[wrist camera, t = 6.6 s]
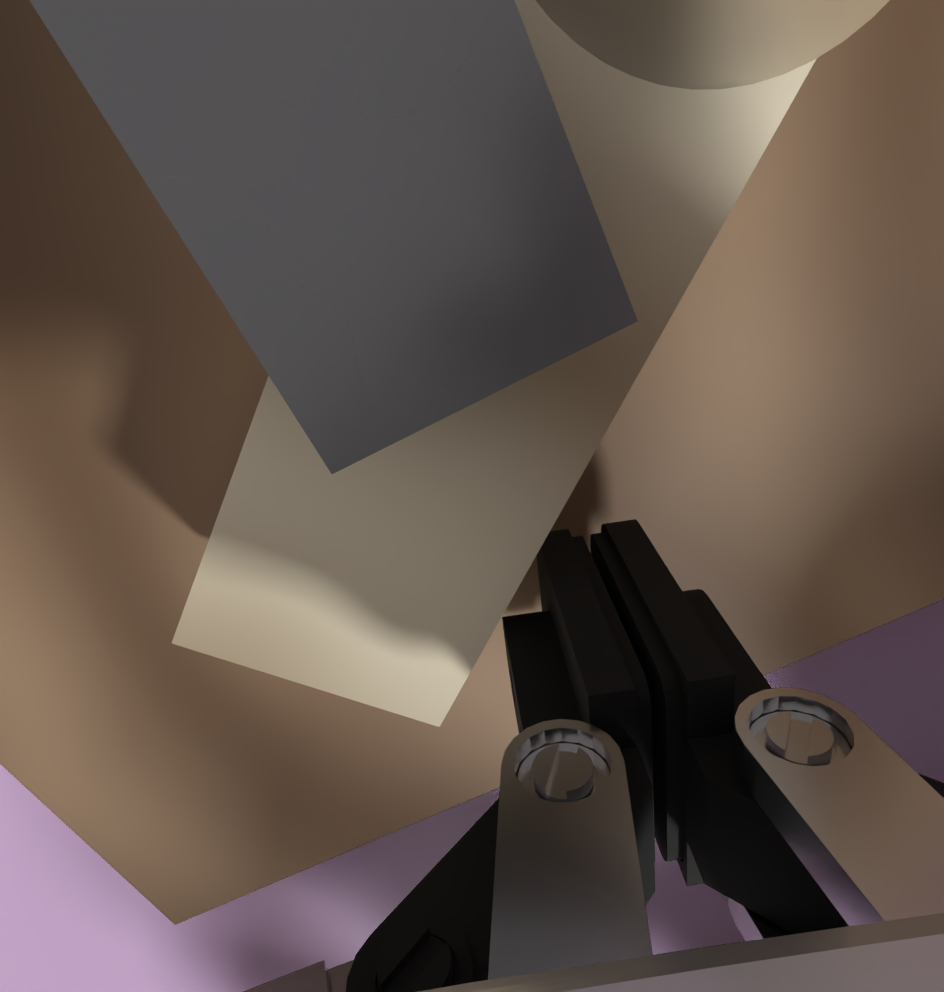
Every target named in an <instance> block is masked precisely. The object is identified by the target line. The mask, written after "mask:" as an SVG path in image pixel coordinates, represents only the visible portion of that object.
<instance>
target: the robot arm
mask: <svg viewBox="0 0 944 992" xmlns="http://www.w3.org/2000/svg"><path fill="white" fill-rule="evenodd" d="M590 548H591V553H590V551H589V549H588V547H587V544H586V542H585V540H584V538H583V536H575V537H572V536H571V534H570V531H569V530H568V529H563V530H556V531H550V532H549V534H548V536H547V537H546V539H545V541H544V543H543V545H542V546H541V548H540V550H539V552H538V553H537V555H536V557H537V567H538V577H539V587H540V597H541V606H542V611H540V612H533V613H526V614H519V615H512V616H505V617H502V622H503V630H504V638H505V646H506V654H507V661H508V668H509V675H510V682H511V689H512V695H513V702H514V708H515V714H516V719H517V725H518V731H519V734H518V735H517V736H516V737H514V738H513V740H512V741H511V742H510V744H509V745H508V747H507V748H506V749H505V752H504V756H503V760H502V763H501V776H500V792H499V799H498V800H497V801H496V802H495V803H494V804H493V805H492V806H491V807H490V808H489V809H488V810H487V811H486V813H485V814H484V815H483V816H482V817H481V818H480V819H479V820H478V821H477V822H476V823H475V824H474V825H473V826H472V827H471V828H470V830H469V831H468V832H467V833H466V834H465V835H464V836H463V837H462V838H461V839H460V840H459V841H458V842H457V843H456V844H455V846H454V847H453V848H452V849H451V850H450V851H449V852H448V853H447V854H446V855H445V856H444V857H443V858H442V859H441V860H440V862H439V863H438V864H437V865H436V866H435V867H434V868H433V869H432V870H431V871H430V872H429V873H428V874H427V875H426V876H425V877H424V879H423V880H422V881H421V882H420V883H419V884H418V885H417V886H416V887H415V888H414V889H413V890H412V891H411V892H410V893H409V895H408V896H407V897H406V898H405V899H404V900H403V901H402V902H401V903H400V904H399V905H398V906H397V907H396V908H395V909H394V910H393V912H392V913H391V914H390V915H389V916H388V917H387V918H386V919H385V920H384V921H383V922H382V923H381V924H380V925H379V926H378V928H377V929H376V930H375V931H374V932H373V933H372V934H371V935H370V936H369V938H368V939H367V940H366V942H365V943H364V945H363V946H362V947H361V949H360V950H359V951H358V953H357V954H356V956H355V959H354V960H352V961H350V962H347V963H344V964H342V965H339V966H337V967H334V968H332V969H329V970H327V968H326V965H325V962H324V961H321V962H318V963H316V964H313V965H311V966H308V967H305V968H303V969H300V970H298V971H295V972H293V973H290V974H287V975H285V976H282V977H280V978H277V979H274V980H272V981H269V982H267V983H264V984H262V985H259V986H256V987H254V988H251V989H249V990H246V991H244V992H944V783H942V782H939V781H936V780H934V779H931V778H929V777H926V776H923V775H921V774H918V773H916V772H915V771H914V770H913V769H912V768H911V767H910V766H909V765H908V764H907V763H906V762H905V761H904V760H903V759H902V758H901V757H900V756H898V755H897V754H896V753H895V752H894V751H893V750H892V749H891V748H890V747H889V746H888V745H887V744H886V743H885V742H884V741H883V740H882V739H880V738H879V737H878V736H877V735H876V734H875V733H874V732H873V731H872V730H871V729H870V728H869V727H868V726H867V725H866V724H865V723H864V722H863V721H861V720H860V719H859V718H858V717H857V716H856V715H855V714H854V713H853V712H851V711H850V710H849V709H847V708H846V707H845V706H843V705H842V704H840V703H839V702H837V701H835V700H833V699H831V698H829V697H826V696H824V695H822V694H819V693H816V692H812V691H808V690H804V689H798V688H783V687H780V688H773V689H772V688H771V687H770V685H769V684H768V682H767V681H766V679H765V678H764V676H763V675H762V673H761V672H760V671H759V669H758V668H757V666H756V665H755V663H754V662H753V660H752V659H751V658H750V656H749V655H748V653H747V652H746V650H745V649H744V647H743V646H742V644H741V643H740V642H739V640H738V639H737V637H736V636H735V634H734V633H733V631H732V630H731V628H730V627H729V626H728V624H727V623H726V621H725V620H724V618H723V617H722V615H721V614H720V613H719V611H718V610H717V608H716V607H715V605H714V604H713V602H712V601H711V599H710V598H709V597H708V595H707V594H706V593H705V592H704V591H703V590H701V589H694V590H687V591H682V590H681V588H680V587H679V585H678V584H677V582H676V580H675V579H674V577H673V576H672V574H671V573H670V571H669V569H668V568H667V566H666V565H665V563H664V562H663V560H662V558H661V557H660V555H659V554H658V552H657V550H656V549H655V547H654V546H653V544H652V543H651V541H650V539H649V538H648V536H647V535H646V533H645V532H644V530H643V528H642V527H641V525H640V524H639V522H638V521H637V520H636V519H633V520H626V521H619V522H612V523H605V524H602V526H601V533H596V534H591V536H590ZM654 835H655V838H656V841H657V844H658V846H659V849H660V852H661V855H662V857H663V859H664V860H665V861H672V860H677V861H678V863H679V866H680V869H681V871H682V874H683V877H684V879H685V882H686V885H687V886H690V885H697V884H706V885H708V886H709V887H711V888H713V889H715V890H716V891H718V892H720V893H722V894H723V895H725V896H727V897H728V908H729V910H730V913H731V915H732V918H733V920H734V923H735V925H736V926H737V928H738V930H739V931H740V933H741V935H742V937H743V938H744V940H745V941H744V942H738V943H731V944H724V945H717V946H710V947H703V948H696V949H690V950H683V951H677V952H670V953H663V954H657V955H653V954H652V947H651V940H650V933H649V927H648V920H647V913H646V906H645V905H646V904H647V902H648V901H649V899H650V898H651V896H652V894H653V893H654V891H655V872H654V862H655V839H654Z"/></svg>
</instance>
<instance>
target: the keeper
mask: <svg viewBox="0 0 944 992" xmlns="http://www.w3.org/2000/svg"><path fill="white" fill-rule="evenodd" d="M29 1H30V2H31V4H32V5H33V7H34V8H35V10H36V12H37V13H38V15H39V16H40V18H41V19H42V21H43V23H44V24H45V26H46V27H47V29H48V30H49V32H50V34H51V35H52V37H53V38H54V40H55V41H56V43H57V45H58V46H59V48H60V49H61V51H62V52H63V54H64V55H65V57H66V59H67V60H68V62H69V63H70V65H71V66H72V68H73V70H74V71H75V73H76V74H77V76H78V77H79V79H80V81H81V82H82V84H83V85H84V87H85V88H86V90H87V92H88V93H89V95H90V96H91V98H92V99H93V101H94V103H95V104H96V106H97V107H98V109H99V110H100V112H101V113H102V115H103V117H104V118H105V120H106V121H107V123H108V124H109V126H110V128H111V129H112V131H113V132H114V134H115V135H116V137H117V139H118V140H119V142H120V143H121V145H122V146H123V148H124V150H125V151H126V153H127V154H128V156H129V157H130V159H131V160H132V162H133V164H134V165H135V167H136V168H137V170H138V171H139V173H140V175H141V176H142V178H143V179H144V181H145V182H146V184H147V186H148V187H149V189H150V190H151V192H152V193H153V195H154V197H155V198H156V200H157V201H158V203H159V204H160V206H161V208H162V209H163V211H164V212H165V214H166V215H167V217H168V218H169V220H170V222H171V223H172V225H173V226H174V228H175V229H176V231H177V233H178V234H179V236H180V237H181V239H182V240H183V242H184V244H185V245H186V247H187V248H188V250H189V251H190V253H191V255H192V256H193V258H194V259H195V261H196V262H197V264H198V266H199V267H200V269H201V270H202V272H203V273H204V275H205V276H206V278H207V280H208V281H209V283H210V284H211V286H212V287H213V289H214V291H215V292H216V294H217V295H218V297H219V298H220V300H221V302H222V303H223V305H224V306H225V308H226V309H227V311H228V313H229V314H230V316H231V317H232V319H233V320H234V322H235V324H236V325H237V327H238V328H239V330H240V331H241V333H242V334H243V336H244V338H245V339H246V341H247V342H248V344H249V345H250V347H251V349H252V350H253V352H254V353H255V355H256V356H257V358H258V360H259V361H260V363H261V364H262V366H263V367H264V369H265V371H266V372H267V374H268V375H269V377H270V378H271V380H272V382H273V383H274V385H275V386H276V388H277V389H278V391H279V392H280V394H281V396H282V397H283V399H284V400H285V402H286V403H287V405H288V407H289V408H290V410H291V411H292V413H293V414H294V416H295V418H296V419H297V421H298V422H299V424H300V425H301V427H302V429H303V430H304V432H305V433H306V435H307V436H308V438H309V439H310V441H311V443H312V444H313V446H314V447H315V449H316V450H317V452H318V454H319V455H320V457H321V458H322V460H323V461H324V463H325V465H326V466H327V468H328V469H329V471H330V472H331V474H334V473H336V472H338V471H340V470H342V469H344V468H346V467H348V466H350V465H352V464H354V463H356V462H358V461H360V460H362V459H364V458H366V457H368V456H370V455H372V454H374V453H376V452H378V451H380V450H382V449H384V448H386V447H388V446H390V445H392V444H394V443H396V442H398V441H400V440H402V439H404V438H406V437H408V436H410V435H412V434H414V433H416V432H418V431H420V430H422V429H424V428H426V427H428V426H430V425H432V424H434V423H436V422H438V421H440V420H442V419H444V418H446V417H448V416H450V415H452V414H454V413H456V412H458V411H460V410H462V409H464V408H466V407H468V406H470V405H472V404H474V403H476V402H478V401H480V400H482V399H484V398H486V397H488V396H490V395H492V394H494V393H496V392H498V391H500V390H502V389H504V388H506V387H508V386H510V385H512V384H514V383H516V382H518V381H520V380H522V379H524V378H526V377H528V376H530V375H532V374H534V373H536V372H538V371H540V370H542V369H544V368H546V367H548V366H550V365H552V364H554V363H556V362H558V361H560V360H562V359H564V358H566V357H568V356H570V355H572V354H574V353H576V352H578V351H580V350H582V349H584V348H586V347H588V346H589V345H591V344H593V343H595V342H597V341H599V340H601V339H603V338H605V337H607V336H609V335H611V334H613V333H615V332H617V331H619V330H621V329H623V328H625V327H627V326H629V325H631V324H633V323H635V322H637V321H638V320H637V318H636V315H635V312H634V310H633V307H632V305H631V302H630V299H629V297H628V294H627V292H626V289H625V286H624V284H623V281H622V279H621V276H620V273H619V271H618V268H617V266H616V263H615V260H614V258H613V255H612V253H611V250H610V247H609V245H608V242H607V240H606V237H605V234H604V232H603V229H602V227H601V224H600V221H599V219H598V216H597V214H596V211H595V208H594V206H593V203H592V201H591V198H590V195H589V193H588V190H587V188H586V185H585V182H584V180H583V177H582V175H581V172H580V169H579V167H578V164H577V162H576V159H575V156H574V154H573V151H572V149H571V146H570V143H569V141H568V138H567V136H566V133H565V130H564V128H563V125H562V123H561V120H560V117H559V115H558V112H557V110H556V107H555V104H554V102H553V99H552V97H551V94H550V91H549V89H548V86H547V84H546V81H545V78H544V76H543V73H542V71H541V68H540V65H539V63H538V60H537V58H536V55H535V52H534V50H533V47H532V45H531V42H530V39H529V37H528V34H527V32H526V29H525V26H524V24H523V21H522V19H521V16H520V13H519V11H518V8H517V6H516V3H515V0H29Z"/></svg>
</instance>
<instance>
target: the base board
mask: <svg viewBox="0 0 944 992" xmlns="http://www.w3.org/2000/svg"><path fill="white" fill-rule="evenodd" d="M268 376H269V375H268V374H267V372H266V371H265V369H264V367H263V366H262V364H261V363H260V361H259V360H258V358H257V356H256V355H255V353H254V352H253V350H252V349H251V347H250V345H249V344H248V342H247V341H246V339H245V338H244V336H243V334H242V333H241V331H240V330H239V328H238V327H237V325H236V324H235V322H234V320H233V319H232V317H231V316H230V314H229V313H228V311H227V309H226V308H225V306H224V305H223V303H222V302H221V300H220V298H219V297H218V295H217V294H216V292H215V291H214V289H213V287H212V286H211V284H210V283H209V281H208V280H207V278H206V276H205V275H204V273H203V272H202V270H201V269H200V267H199V266H198V264H197V262H196V261H195V259H194V258H193V256H192V255H191V253H190V251H189V250H188V248H187V247H186V245H185V244H184V242H183V240H182V239H181V237H180V236H179V234H178V233H177V231H176V229H175V228H174V226H173V225H172V223H171V222H170V220H169V218H168V217H167V215H166V214H165V212H164V211H163V209H162V208H161V206H160V204H159V203H158V201H157V200H156V198H155V197H154V195H153V193H152V192H151V190H150V189H149V187H148V186H147V184H146V182H145V181H144V179H143V178H142V176H141V175H140V173H139V171H138V170H137V168H136V167H135V165H134V164H133V162H132V160H131V159H130V157H129V156H128V154H127V153H126V151H125V150H124V148H123V146H122V145H121V143H120V142H119V140H118V139H117V137H116V135H115V134H114V132H113V131H112V129H111V128H110V126H109V124H108V123H107V121H106V120H105V118H104V117H103V115H102V113H101V112H100V110H99V109H98V107H97V106H96V104H95V103H94V101H93V99H92V98H91V96H90V95H89V93H88V92H87V90H86V88H85V87H84V85H83V84H82V82H81V81H80V79H79V77H78V76H77V74H76V73H75V71H74V70H73V68H72V66H71V65H70V63H69V62H68V60H67V59H66V57H65V55H64V54H63V52H62V51H61V49H60V48H59V46H58V45H57V43H56V41H55V40H54V38H53V37H52V35H51V34H50V32H49V30H48V29H47V27H46V26H45V24H44V23H43V21H42V19H41V18H40V16H39V15H38V13H37V12H36V10H35V8H34V7H33V5H32V4H31V2H30V1H29V0H0V764H1V765H2V766H3V767H4V768H5V769H6V770H8V771H9V772H10V773H11V774H12V775H13V776H14V777H15V778H16V779H17V780H18V781H19V782H21V783H22V784H23V785H24V786H25V787H26V788H27V789H28V790H29V791H30V792H31V793H33V794H34V795H35V796H36V797H37V798H38V799H39V800H40V801H41V802H42V803H43V804H44V805H46V806H47V807H48V808H49V809H50V810H51V811H52V812H53V813H54V814H55V815H56V816H57V817H59V818H60V819H61V820H62V821H63V822H64V823H65V824H66V825H67V826H68V827H69V828H71V829H72V830H73V831H74V832H75V833H76V834H77V835H78V836H79V837H80V838H81V839H82V840H84V841H85V842H86V843H87V844H88V845H89V846H90V847H91V848H92V849H93V850H94V851H96V852H97V853H98V854H99V855H100V856H101V857H102V858H103V859H104V860H105V861H106V862H107V863H109V864H110V865H111V866H112V867H113V868H114V869H115V870H116V871H117V872H118V873H119V874H121V875H122V876H123V877H124V878H125V879H126V880H127V881H128V882H129V883H130V884H131V885H132V886H134V887H135V888H136V889H137V890H138V891H139V892H140V893H141V894H142V895H143V896H144V897H146V898H147V899H148V900H149V901H150V902H151V903H152V904H153V905H154V906H155V907H156V908H157V909H159V910H160V911H161V912H162V913H163V914H164V915H165V916H166V917H167V918H168V919H169V920H170V921H172V922H173V923H174V924H178V923H180V922H182V921H185V920H187V919H189V918H192V917H194V916H197V915H199V914H201V913H204V912H206V911H208V910H211V909H213V908H215V907H218V906H220V905H223V904H225V903H227V902H230V901H232V900H234V899H237V898H239V897H241V896H244V895H246V894H248V893H251V892H253V891H256V890H258V889H260V888H263V887H265V886H267V885H270V884H272V883H274V882H277V881H279V880H282V879H284V878H286V877H289V876H291V875H293V874H296V873H298V872H300V871H303V870H305V869H308V868H310V867H312V866H315V865H317V864H319V863H322V862H324V861H326V860H329V859H331V858H333V857H336V856H338V855H341V854H343V853H345V852H348V851H350V850H352V849H355V848H357V847H359V846H362V845H364V844H367V843H369V842H371V841H374V840H376V839H378V838H381V837H383V836H385V835H388V834H390V833H393V832H395V831H397V830H400V829H402V828H404V827H407V826H409V825H411V824H414V823H416V822H418V821H421V820H423V819H426V818H428V817H430V816H433V815H435V814H437V813H440V812H442V811H444V810H447V809H449V808H452V807H454V806H456V805H459V804H461V803H463V802H466V801H468V800H470V799H473V798H475V797H477V796H480V795H482V794H485V793H487V792H489V791H492V790H494V789H496V788H499V787H500V776H501V763H502V760H503V756H504V752H505V749H506V748H507V747H508V745H509V744H510V742H511V741H512V740H513V738H514V737H516V736H517V735H518V734H519V731H518V725H517V719H516V714H515V708H514V702H513V695H512V689H511V682H510V675H509V668H508V661H507V654H506V646H505V638H504V630H503V622H502V617H505V616H512V615H519V614H526V613H533V612H540V611H542V606H541V597H540V587H539V577H538V567H537V557H535V559H534V560H533V562H532V564H531V566H530V568H529V569H528V571H527V573H526V575H525V576H524V578H523V580H522V582H521V584H520V585H519V587H518V589H517V591H516V592H515V594H514V596H513V598H512V599H511V601H510V603H509V605H508V607H507V608H506V610H505V612H504V614H503V615H502V617H501V619H500V621H499V623H498V624H497V626H496V628H495V630H494V631H493V633H492V635H491V637H490V638H489V640H488V642H487V644H486V646H485V647H484V649H483V651H482V653H481V654H480V656H479V658H478V660H477V662H476V663H475V665H474V667H473V669H472V670H471V672H470V674H469V676H468V677H467V679H466V681H465V683H464V685H463V686H462V688H461V690H460V692H459V693H458V695H457V697H456V699H455V701H454V702H453V704H452V706H451V708H450V709H449V711H448V713H447V715H446V716H445V718H444V720H443V722H442V724H441V725H440V727H437V726H434V725H431V724H428V723H425V722H421V721H418V720H415V719H412V718H409V717H405V716H402V715H399V714H396V713H393V712H389V711H386V710H383V709H380V708H377V707H373V706H370V705H367V704H364V703H361V702H358V701H354V700H351V699H348V698H345V697H342V696H338V695H335V694H332V693H329V692H326V691H322V690H319V689H316V688H313V687H310V686H306V685H303V684H300V683H297V682H294V681H290V680H287V679H284V678H281V677H278V676H274V675H271V674H268V673H265V672H262V671H258V670H255V669H252V668H249V667H246V666H242V665H239V664H236V663H233V662H230V661H226V660H223V659H220V658H217V657H214V656H210V655H207V654H204V653H201V652H198V651H194V650H191V649H188V648H185V647H182V646H178V645H175V644H172V640H173V638H174V635H175V632H176V629H177V627H178V624H179V621H180V618H181V616H182V613H183V610H184V607H185V604H186V602H187V599H188V596H189V593H190V591H191V588H192V585H193V582H194V580H195V577H196V574H197V571H198V569H199V566H200V563H201V560H202V558H203V555H204V552H205V549H206V547H207V544H208V541H209V538H210V536H211V533H212V530H213V527H214V525H215V522H216V519H217V516H218V513H219V511H220V508H221V505H222V502H223V500H224V497H225V494H226V491H227V489H228V486H229V483H230V480H231V478H232V475H233V472H234V469H235V467H236V464H237V461H238V458H239V456H240V453H241V450H242V447H243V445H244V442H245V439H246V436H247V434H248V431H249V428H250V425H251V422H252V420H253V417H254V414H255V411H256V409H257V406H258V403H259V400H260V398H261V395H262V392H263V389H264V387H265V384H266V381H267V378H268ZM633 519H636V520H637V521H638V522H639V524H640V525H641V527H642V528H643V530H644V532H645V533H646V535H647V536H648V538H649V539H650V541H651V543H652V544H653V546H654V547H655V549H656V550H657V552H658V554H659V555H660V557H661V558H662V560H663V562H664V563H665V565H666V566H667V568H668V569H669V571H670V573H671V574H672V576H673V577H674V579H675V580H676V582H677V584H678V585H679V587H680V588H681V590H682V591H687V590H694V589H701V590H703V591H704V592H705V593H706V594H707V595H708V597H709V598H710V599H711V601H712V602H713V604H714V605H715V607H716V608H717V610H718V611H719V613H720V614H721V615H722V617H723V618H724V620H725V621H726V623H727V624H728V626H729V627H730V628H731V630H732V631H733V633H734V634H735V636H736V637H737V639H738V640H739V642H740V643H741V644H742V646H743V647H744V649H745V650H746V652H747V653H748V655H749V656H750V658H751V659H752V660H753V662H754V663H755V665H756V666H757V668H758V669H759V671H760V672H761V673H762V675H766V674H768V673H770V672H773V671H775V670H777V669H780V668H782V667H784V666H787V665H789V664H791V663H794V662H796V661H799V660H801V659H803V658H806V657H808V656H810V655H813V654H815V653H817V652H820V651H822V650H825V649H827V648H829V647H832V646H834V645H836V644H839V643H841V642H843V641H846V640H848V639H850V638H853V637H855V636H858V635H860V634H862V633H865V632H867V631H869V630H872V629H874V628H876V627H879V626H881V625H884V624H886V623H888V622H891V621H893V620H895V619H898V618H900V617H902V616H905V615H907V614H910V613H912V612H914V611H917V610H919V609H921V608H924V607H926V606H928V605H931V604H933V603H935V602H938V601H940V600H943V599H944V0H890V1H889V2H888V3H887V4H886V5H885V6H884V7H883V8H882V9H881V10H880V11H879V12H878V13H877V14H876V15H875V16H874V17H873V18H872V19H870V20H869V21H868V22H867V23H865V24H864V25H863V26H862V27H861V28H859V29H858V30H857V31H856V32H854V33H853V34H852V35H851V36H850V37H848V38H847V39H846V40H845V41H843V42H842V43H840V44H839V45H837V46H835V47H834V48H832V49H831V50H829V51H828V52H826V53H824V54H823V55H821V56H820V57H818V58H817V59H816V61H815V62H814V64H813V66H812V68H811V70H810V71H809V73H808V75H807V77H806V78H805V80H804V82H803V84H802V85H801V87H800V89H799V91H798V93H797V94H796V96H795V98H794V100H793V101H792V103H791V105H790V107H789V109H788V110H787V112H786V114H785V116H784V117H783V119H782V121H781V123H780V124H779V126H778V128H777V130H776V132H775V133H774V135H773V137H772V139H771V140H770V142H769V144H768V146H767V147H766V149H765V151H764V153H763V155H762V156H761V158H760V160H759V162H758V163H757V165H756V167H755V169H754V171H753V172H752V174H751V176H750V178H749V179H748V181H747V183H746V185H745V186H744V188H743V190H742V192H741V194H740V195H739V197H738V199H737V201H736V202H735V204H734V206H733V208H732V210H731V211H730V213H729V215H728V217H727V218H726V220H725V222H724V224H723V225H722V227H721V229H720V231H719V233H718V234H717V236H716V238H715V240H714V241H713V243H712V245H711V247H710V249H709V250H708V252H707V254H706V256H705V257H704V259H703V261H702V263H701V264H700V266H699V268H698V270H697V272H696V273H695V275H694V277H693V279H692V280H691V282H690V284H689V286H688V288H687V289H686V291H685V293H684V295H683V296H682V298H681V300H680V302H679V303H678V305H677V307H676V309H675V311H674V312H673V314H672V316H671V318H670V319H669V321H668V323H667V325H666V327H665V328H664V330H663V332H662V334H661V335H660V337H659V339H658V341H657V342H656V344H655V346H654V348H653V350H652V351H651V353H650V355H649V357H648V358H647V360H646V362H645V364H644V366H643V367H642V369H641V371H640V373H639V374H638V376H637V378H636V380H635V381H634V383H633V385H632V387H631V389H630V390H629V392H628V394H627V396H626V397H625V399H624V401H623V403H622V405H621V406H620V408H619V410H618V412H617V413H616V415H615V417H614V419H613V420H612V422H611V424H610V426H609V428H608V429H607V431H606V433H605V435H604V436H603V438H602V440H601V442H600V444H599V445H598V447H597V449H596V451H595V452H594V454H593V456H592V458H591V459H590V461H589V463H588V465H587V467H586V468H585V470H584V472H583V474H582V475H581V477H580V479H579V481H578V482H577V484H576V486H575V488H574V490H573V491H572V493H571V495H570V497H569V498H568V500H567V502H566V504H565V506H564V507H563V509H562V511H561V513H560V514H559V516H558V518H557V520H556V521H555V523H554V525H553V527H552V529H551V530H550V531H556V530H563V529H568V530H569V531H570V534H571V536H572V537H575V536H583V538H584V540H585V542H586V544H587V547H588V549H589V551H590V553H591V548H590V536H591V534H596V533H601V526H602V524H605V523H612V522H619V521H626V520H633Z"/></svg>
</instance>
